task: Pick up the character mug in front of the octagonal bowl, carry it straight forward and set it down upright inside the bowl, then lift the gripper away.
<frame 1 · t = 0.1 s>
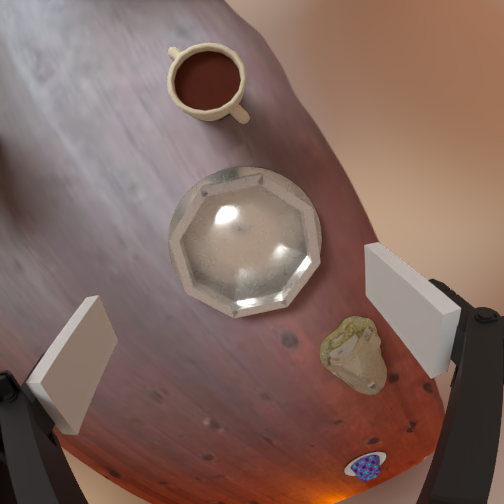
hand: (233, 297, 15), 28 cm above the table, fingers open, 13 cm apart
character mug: (213, 98, 36), on the table
octagonal bowl: (245, 244, 43), on the table
ceramic model: (352, 349, 51), on the table
pudding: (364, 461, 67), on the table
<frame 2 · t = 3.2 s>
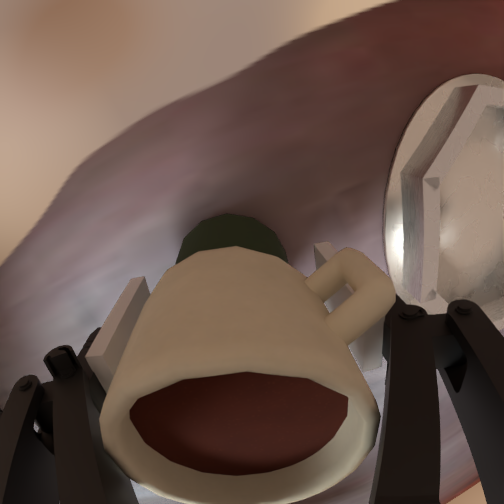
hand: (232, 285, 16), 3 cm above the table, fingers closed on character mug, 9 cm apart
character mug: (231, 262, 19), on the table, touching gripper
octagonal bowl: (493, 212, 19), on the table
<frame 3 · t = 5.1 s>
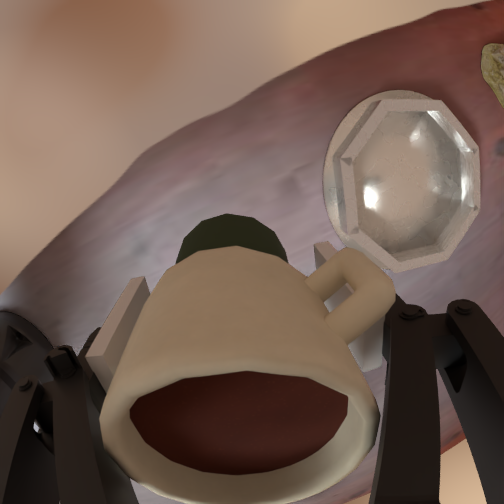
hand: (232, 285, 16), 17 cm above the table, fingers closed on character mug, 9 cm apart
character mug: (231, 262, 19), point 14 cm above the table, touching gripper
octagonal bowl: (409, 182, 32), on the table
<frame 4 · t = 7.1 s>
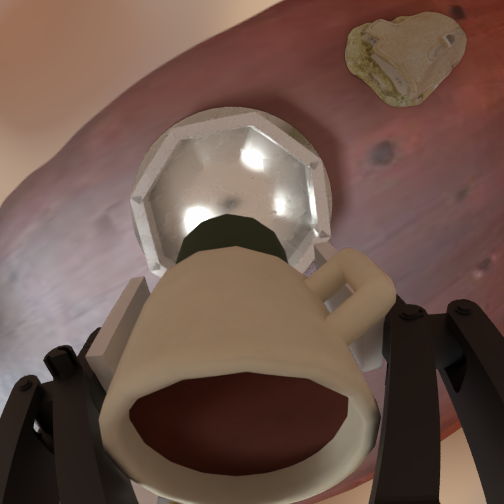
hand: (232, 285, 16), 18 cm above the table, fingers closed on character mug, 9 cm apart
character mug: (231, 262, 19), point 14 cm above the table, touching gripper
jar: (134, 450, 45), on the table
octagonal bowl: (231, 209, 32), on the table
ceramic model: (399, 57, 28), on the table
tea box: (155, 499, 53), on the table
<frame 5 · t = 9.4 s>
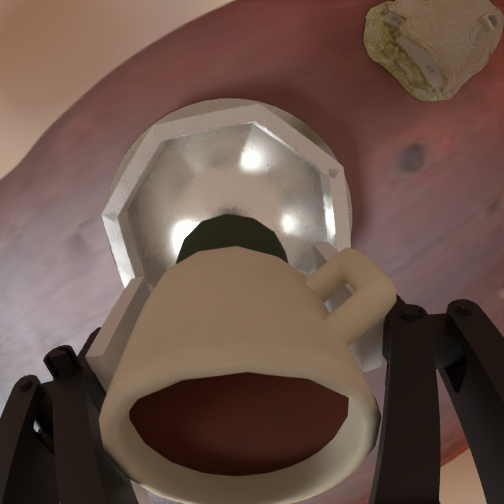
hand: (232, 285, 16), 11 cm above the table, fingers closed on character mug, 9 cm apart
character mug: (231, 262, 19), point 8 cm above the table, touching gripper
jar: (127, 479, 39), on the table
octagonal bowl: (229, 227, 26), on the table
ceramic model: (425, 42, 22), on the table
when the fingers open (4 cm above the table, at t = 11.3 s): character mug drops 1 cm, resting on octagonal bowl.
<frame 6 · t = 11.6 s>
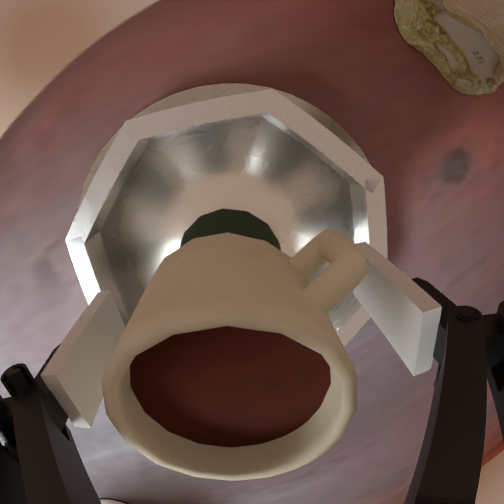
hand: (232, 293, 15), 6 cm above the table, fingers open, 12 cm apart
character mug: (229, 254, 20), resting on octagonal bowl
octagonal bowl: (231, 253, 20), on the table
ceramic model: (461, 25, 15), on the table
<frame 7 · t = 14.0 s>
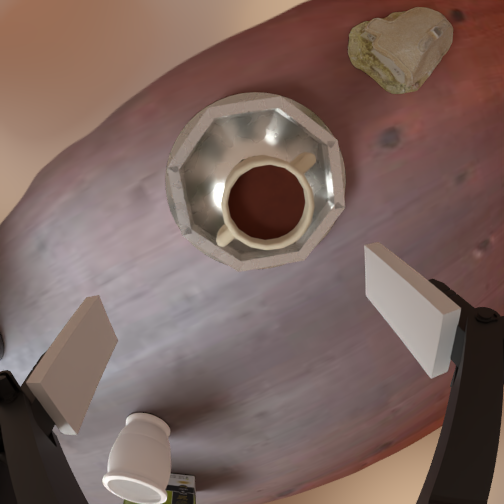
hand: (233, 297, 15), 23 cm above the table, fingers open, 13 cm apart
character mug: (256, 182, 36), resting on octagonal bowl
jar: (148, 425, 49), on the table
octagonal bowl: (257, 182, 36), on the table
ceramic model: (395, 49, 31), on the table
tea box: (164, 479, 57), on the table
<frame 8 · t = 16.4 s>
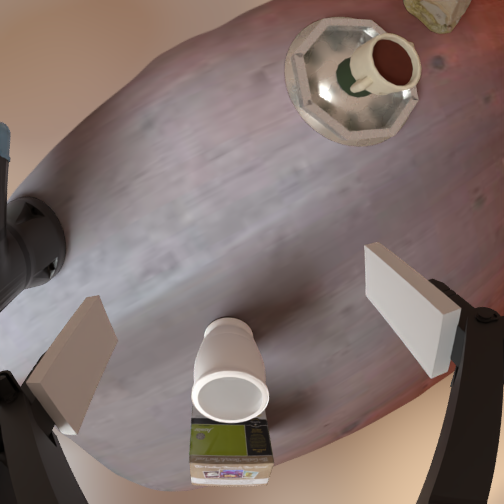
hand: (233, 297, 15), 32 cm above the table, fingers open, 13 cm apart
character mug: (353, 78, 39), resting on octagonal bowl
jar: (228, 336, 53), on the table
octagonal bowl: (354, 78, 40), on the table
ceramic model: (432, 5, 35), on the table
tea box: (228, 419, 60), on the table
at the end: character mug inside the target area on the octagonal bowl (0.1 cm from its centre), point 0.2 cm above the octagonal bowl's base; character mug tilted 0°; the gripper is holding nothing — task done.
